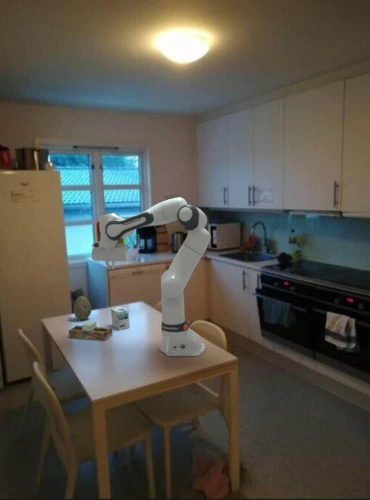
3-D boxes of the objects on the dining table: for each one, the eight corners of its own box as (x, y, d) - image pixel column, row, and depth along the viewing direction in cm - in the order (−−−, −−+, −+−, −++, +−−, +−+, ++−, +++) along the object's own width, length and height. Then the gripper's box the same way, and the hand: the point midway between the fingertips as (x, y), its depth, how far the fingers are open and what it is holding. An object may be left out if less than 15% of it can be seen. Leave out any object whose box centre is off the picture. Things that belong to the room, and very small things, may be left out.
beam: (112, 334, 212) (112, 327, 211) (105, 340, 204) (105, 333, 203) (76, 332, 217) (76, 325, 217) (69, 337, 210) (68, 330, 209)
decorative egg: (84, 323, 232) (82, 299, 230) (70, 321, 237) (68, 297, 235) (95, 317, 242) (94, 294, 240) (82, 315, 247) (80, 293, 244)
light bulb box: (129, 328, 222) (129, 310, 220) (119, 330, 218) (118, 312, 216) (122, 323, 231) (121, 305, 229) (111, 325, 227) (110, 307, 225)
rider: (96, 330, 213) (96, 321, 212) (90, 334, 207) (90, 325, 206) (88, 329, 214) (88, 321, 214) (82, 334, 208) (81, 325, 207)
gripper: (129, 242, 205) (131, 268, 207) (95, 242, 210) (96, 267, 212) (124, 244, 199) (126, 270, 201) (89, 244, 204) (91, 269, 206)
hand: (110, 268), depth 207 cm, fingers closed
